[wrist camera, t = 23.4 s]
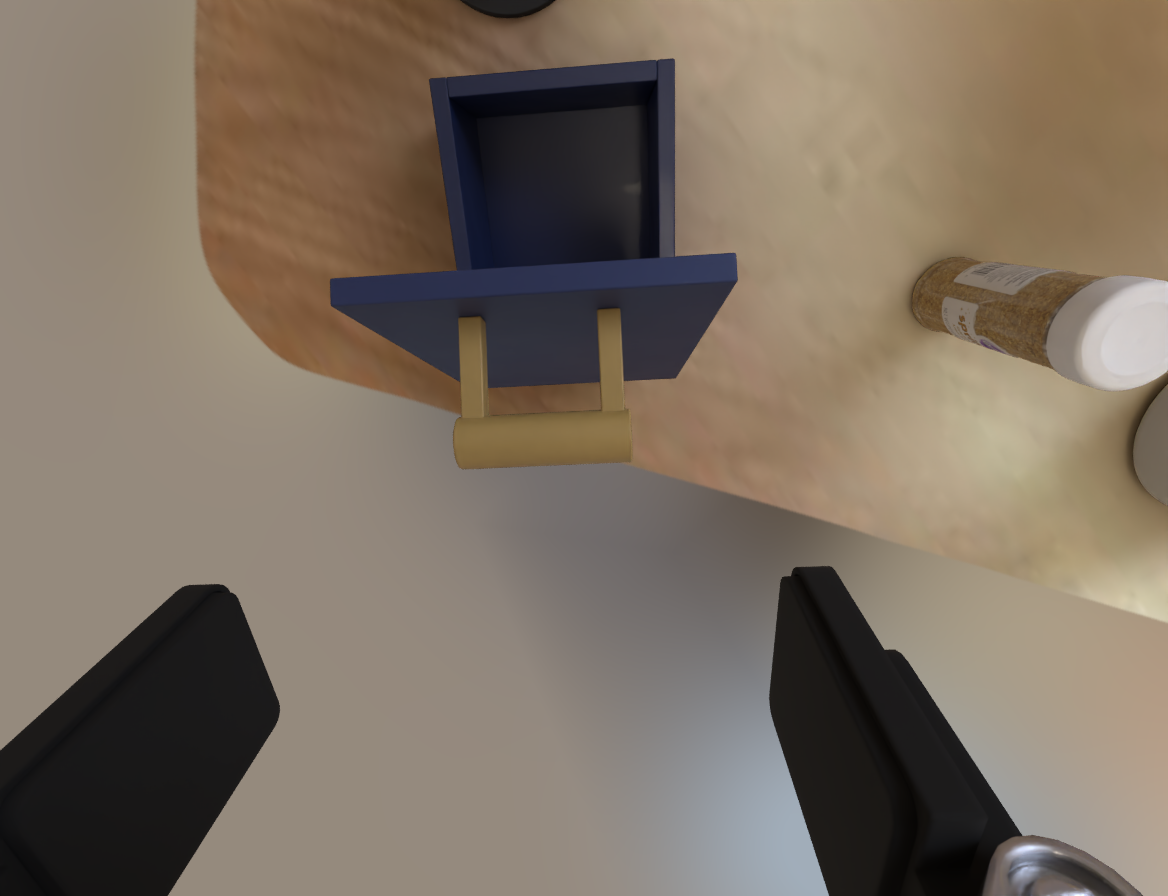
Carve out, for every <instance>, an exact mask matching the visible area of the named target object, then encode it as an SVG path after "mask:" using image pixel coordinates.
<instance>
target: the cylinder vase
mask: <svg viewBox="0 0 1168 896" xmlns="http://www.w3.org/2000/svg"><path fill="white" fill-rule="evenodd" d="M1133 461H1134V467H1135V471H1136V474H1137V476H1138V478H1139V480H1140V482H1141V484H1142V485H1143V487H1144V488H1145V489H1146V490H1147V491H1148V492H1149V493H1150V494H1151V495H1152V496H1153V497H1154V498H1156V499H1157V500H1158V501H1160V502H1162V503H1163V504H1165V505H1167V506H1168V384H1167V385H1166V386H1165V387H1164V389H1163V390H1162V391H1161V392H1160V393H1159V394H1158V395H1157V397H1156V398H1155V399H1154V401H1153V402H1152V403H1151V405H1150V406H1149V408H1148V409H1147V411H1146V413H1145V414H1144V416H1143V418H1142V420H1141V422H1140V425H1139V427H1138V430H1137V433H1136V437H1135V441H1134V448H1133Z"/></svg>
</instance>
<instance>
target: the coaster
mask: <svg viewBox="0 0 1168 896" xmlns="http://www.w3.org/2000/svg"><path fill="white" fill-rule="evenodd" d="M461 1H462V2H463V3H465V4H466V5H468V6H470V7H471V8H473V9H475V10H477V11H479V12H481V13H484V14H487V15H490V16H494V17H501V18H517V17H522V16H526V15H530V14H532V13H535V12H537V11H540V10H541V9H543V8H545V7H546V6H548V5H550V4H551V3H552V2H553V1H555V0H461Z"/></svg>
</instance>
